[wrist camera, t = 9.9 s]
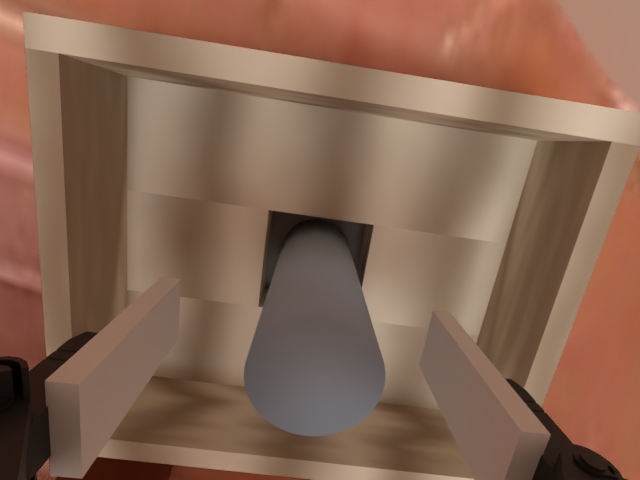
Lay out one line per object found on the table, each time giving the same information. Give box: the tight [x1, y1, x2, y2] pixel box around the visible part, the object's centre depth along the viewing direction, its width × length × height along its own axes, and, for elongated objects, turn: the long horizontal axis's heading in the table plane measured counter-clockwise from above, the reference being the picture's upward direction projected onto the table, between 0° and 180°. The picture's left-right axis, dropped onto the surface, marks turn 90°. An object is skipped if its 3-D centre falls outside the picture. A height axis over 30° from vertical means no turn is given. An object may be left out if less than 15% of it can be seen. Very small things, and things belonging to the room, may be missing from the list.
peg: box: [244, 219, 385, 436], centre depth 17 cm, size 4×4×13 cm
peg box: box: [23, 11, 640, 480], centre depth 20 cm, size 24×20×8 cm
